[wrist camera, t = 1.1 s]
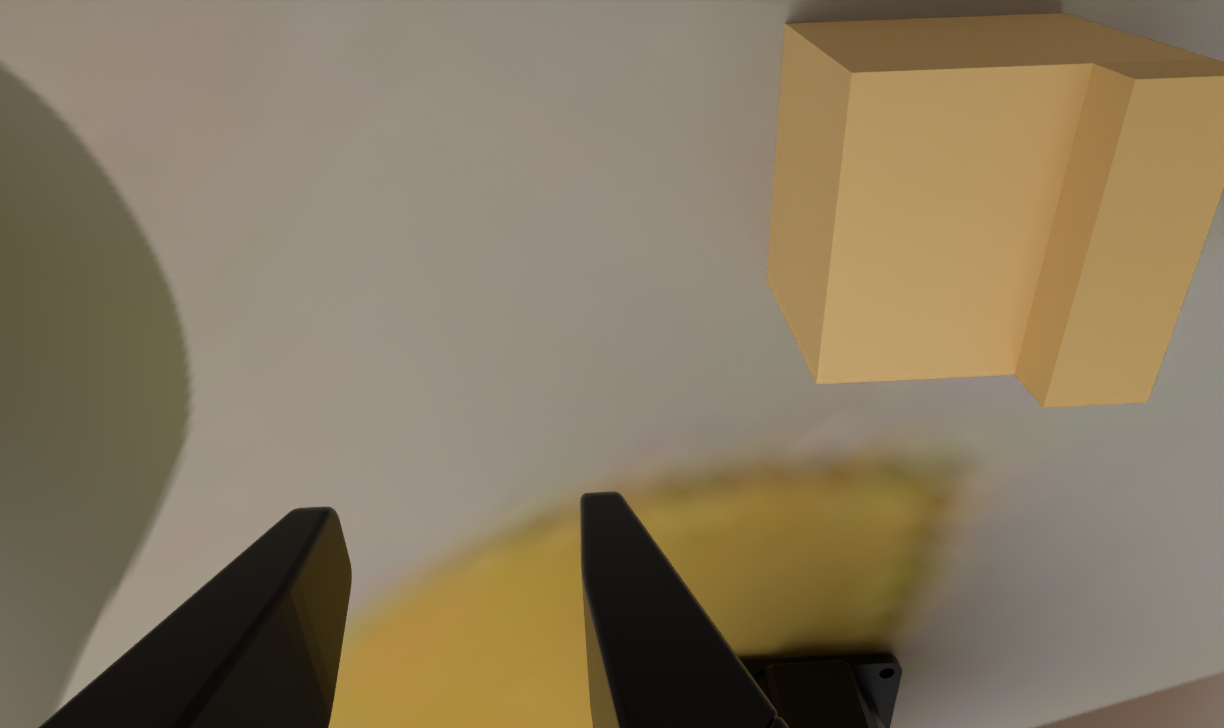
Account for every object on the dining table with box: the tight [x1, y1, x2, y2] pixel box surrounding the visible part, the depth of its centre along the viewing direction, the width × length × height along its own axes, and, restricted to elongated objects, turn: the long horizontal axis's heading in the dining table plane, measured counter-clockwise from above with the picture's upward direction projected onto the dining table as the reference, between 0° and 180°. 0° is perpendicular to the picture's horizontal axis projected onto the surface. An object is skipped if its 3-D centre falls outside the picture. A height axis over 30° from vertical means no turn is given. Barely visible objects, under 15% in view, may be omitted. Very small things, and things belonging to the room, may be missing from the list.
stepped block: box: [766, 13, 1224, 408], centre depth 17 cm, size 6×6×6 cm
